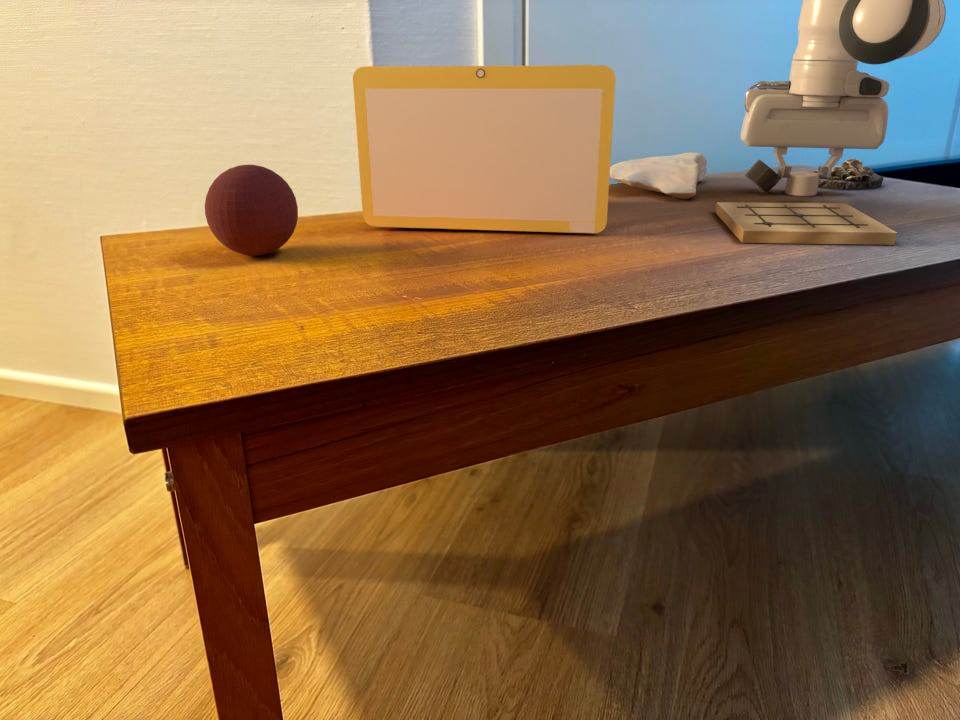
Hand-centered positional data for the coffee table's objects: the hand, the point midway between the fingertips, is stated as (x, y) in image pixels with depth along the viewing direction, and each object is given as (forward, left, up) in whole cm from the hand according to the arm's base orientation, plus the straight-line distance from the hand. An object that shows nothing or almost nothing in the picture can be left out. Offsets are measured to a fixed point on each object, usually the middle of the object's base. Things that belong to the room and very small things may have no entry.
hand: (803, 177), depth 113 cm
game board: (+7, +24, -2) cm, 25 cm away
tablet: (+43, +25, -3) cm, 50 cm away
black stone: (+7, 0, -1) cm, 7 cm away
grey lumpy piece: (-9, -9, -3) cm, 13 cm away
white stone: (0, 0, -2) cm, 2 cm away
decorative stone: (+22, -4, -3) cm, 23 cm away
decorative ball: (+71, +41, -3) cm, 82 cm away
